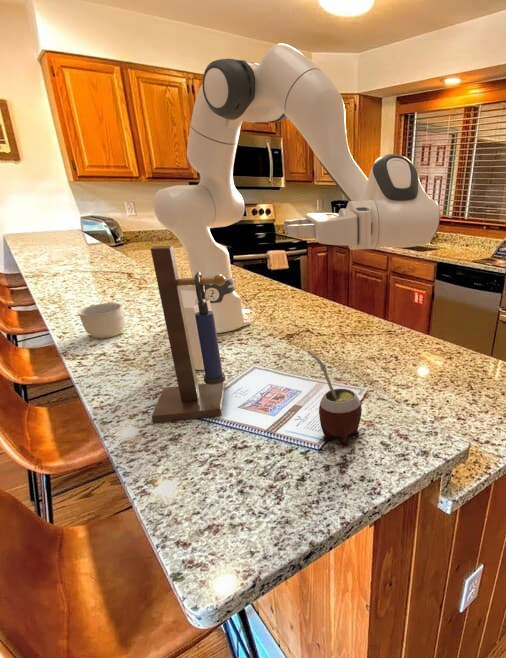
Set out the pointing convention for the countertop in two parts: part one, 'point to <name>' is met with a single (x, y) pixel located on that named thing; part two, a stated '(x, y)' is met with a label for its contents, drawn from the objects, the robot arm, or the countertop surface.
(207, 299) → the milk carton
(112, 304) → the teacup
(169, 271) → the coat stand
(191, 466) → the countertop surface
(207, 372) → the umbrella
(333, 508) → the countertop surface
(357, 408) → the mate gourd
